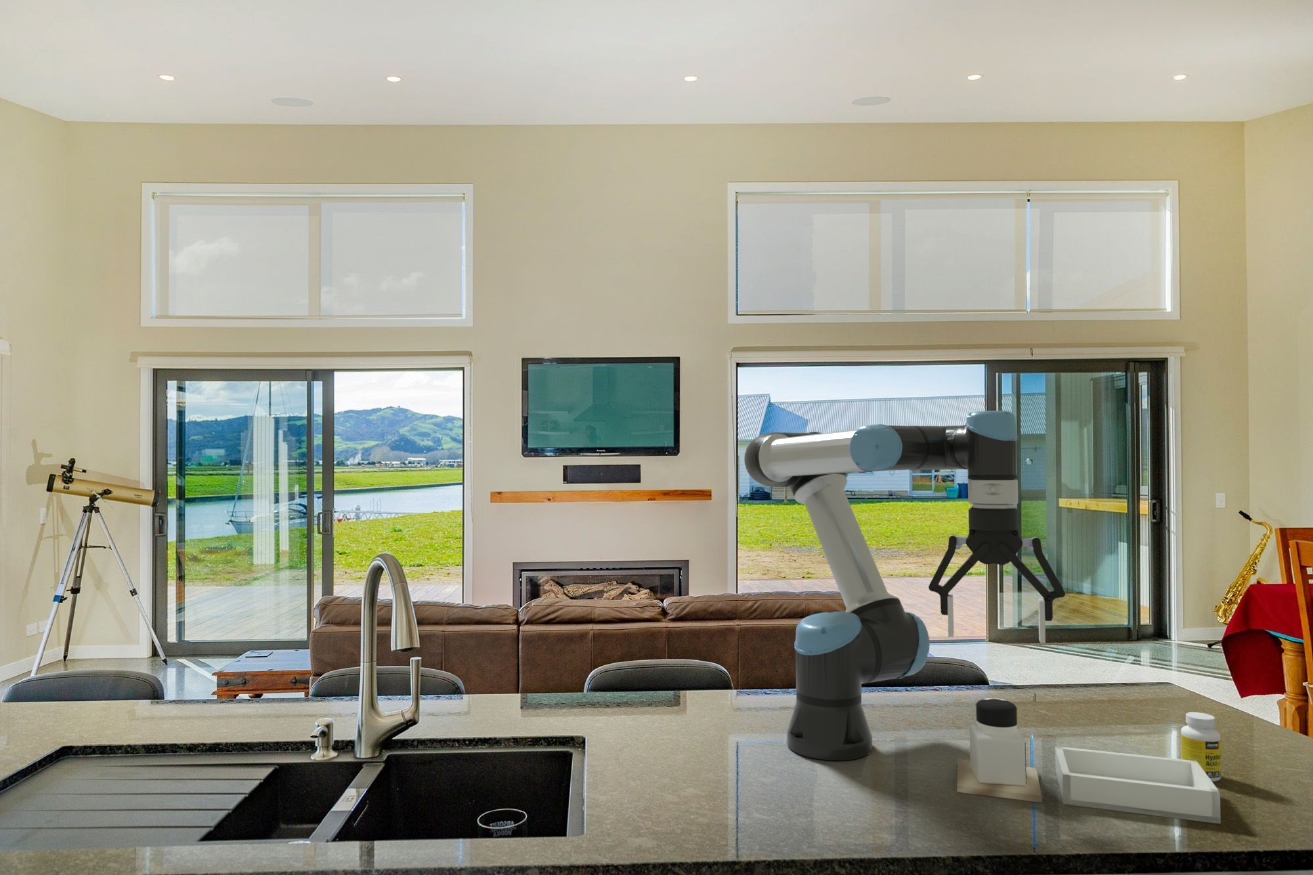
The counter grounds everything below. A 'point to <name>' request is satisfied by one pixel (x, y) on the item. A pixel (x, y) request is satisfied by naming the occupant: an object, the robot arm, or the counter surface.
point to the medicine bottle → (997, 744)
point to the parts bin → (1136, 784)
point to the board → (998, 785)
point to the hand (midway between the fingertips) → (995, 638)
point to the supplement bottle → (1202, 743)
